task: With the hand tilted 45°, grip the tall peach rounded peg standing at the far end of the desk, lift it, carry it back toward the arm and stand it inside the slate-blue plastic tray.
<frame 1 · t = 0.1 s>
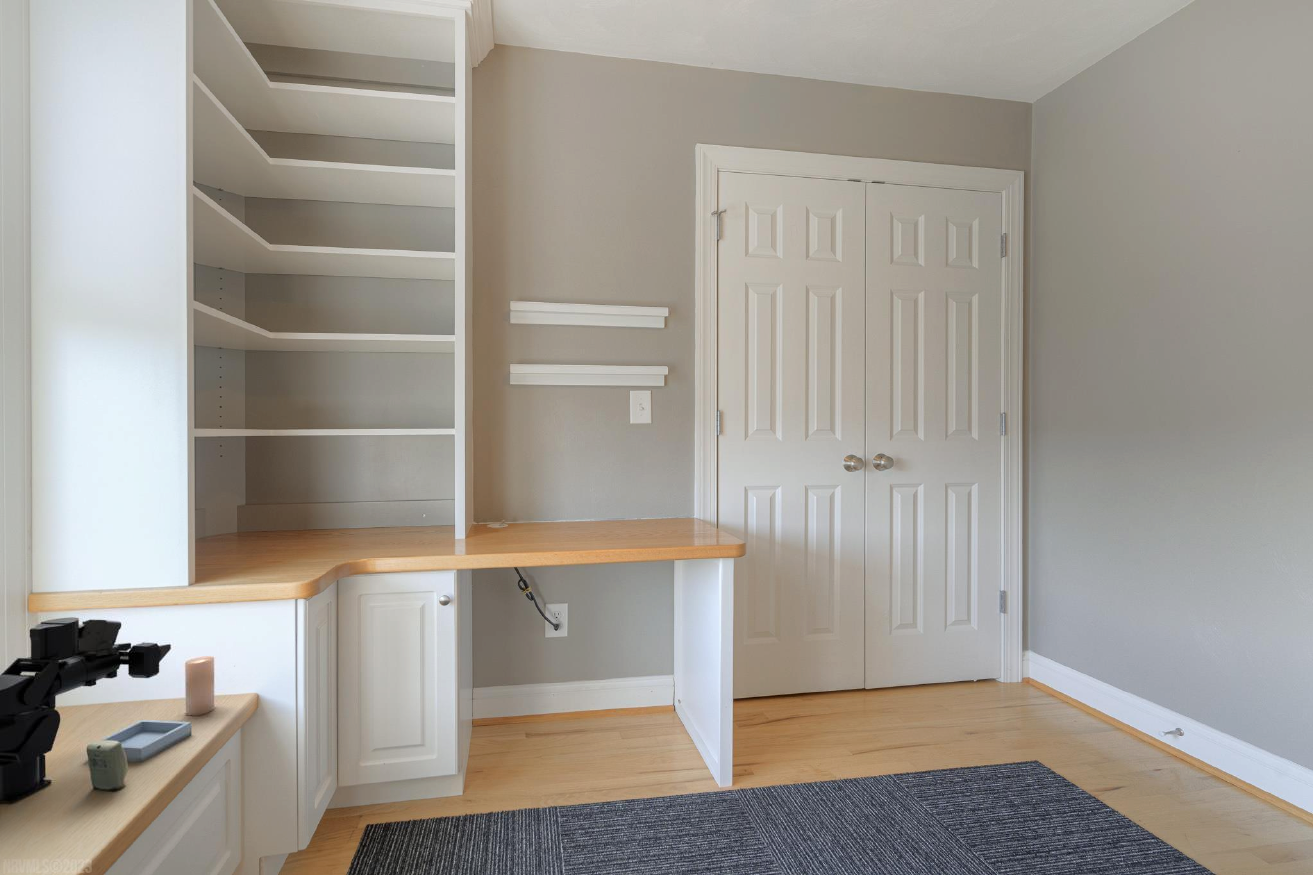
hand: (150, 645, 134), 17 cm above the cabinet, tool horizontal, fingers open, 9 cm apart
tray: (142, 746, 125), on the cabinet
peach rounded peg: (200, 710, 141), on the cabinet
power adapter: (107, 788, 110), on the cabinet
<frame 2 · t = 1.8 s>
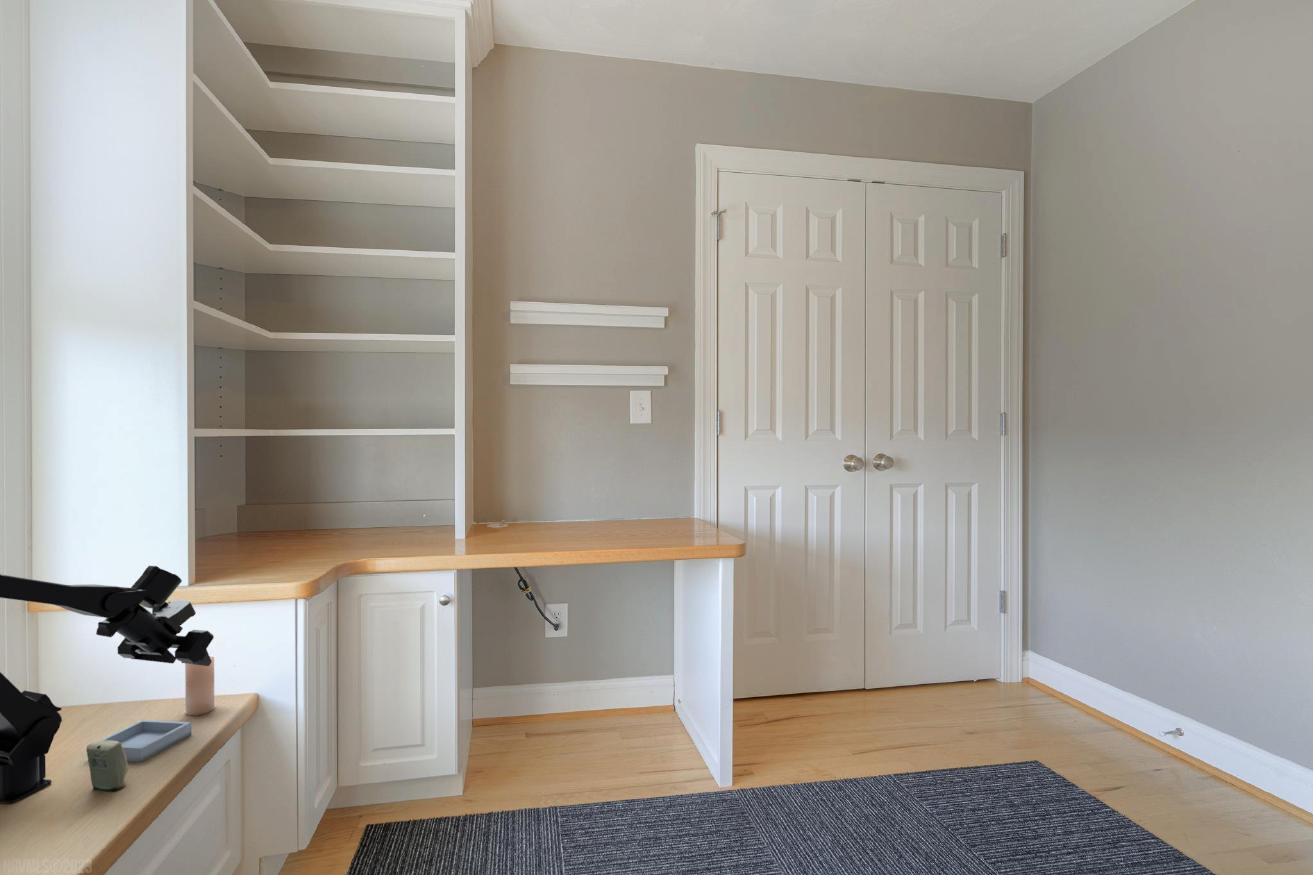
hand: (191, 662, 139), 11 cm above the cabinet, tool tilted 45°, fingers open, 9 cm apart
nothing on the cabinet moved.
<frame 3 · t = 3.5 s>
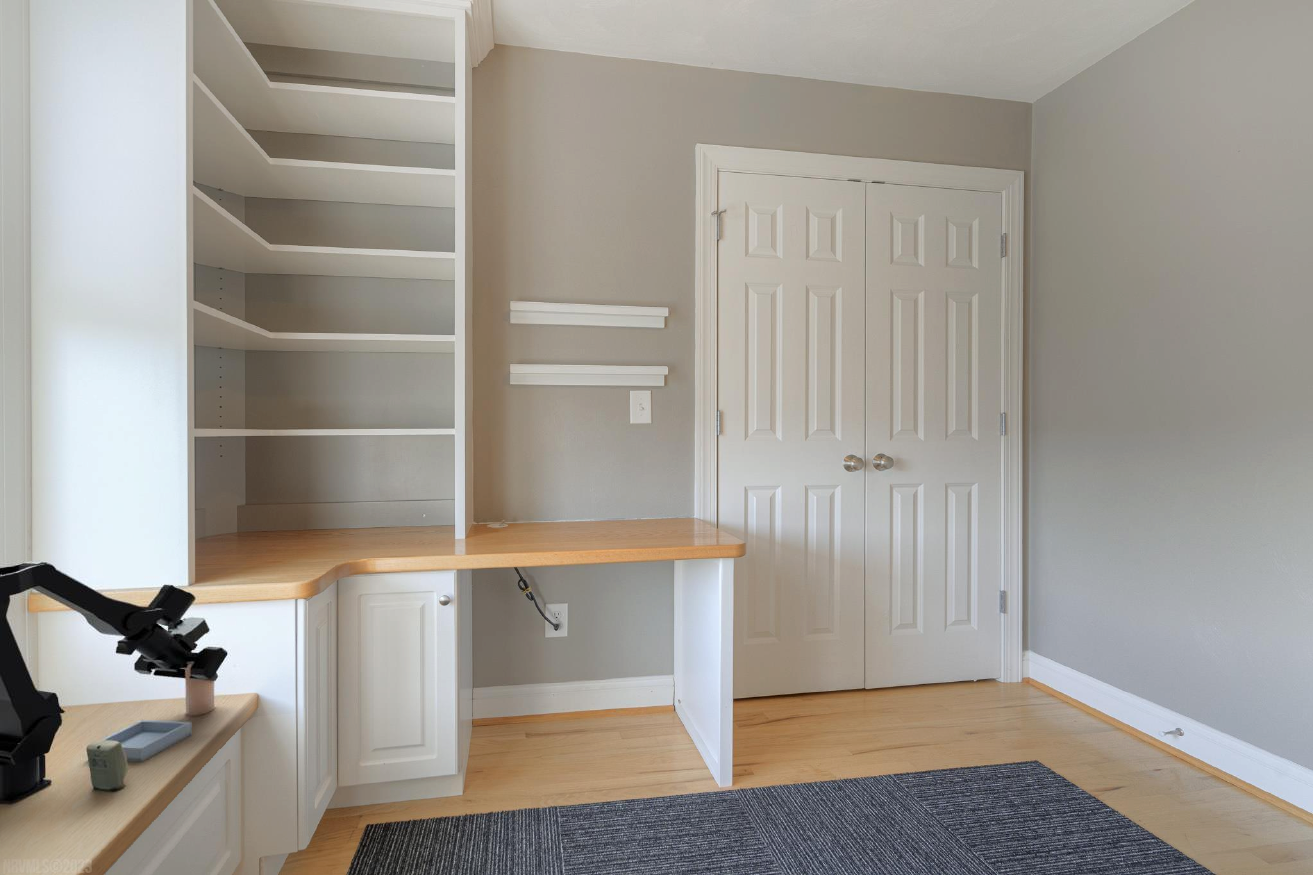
hand: (205, 677, 143), 7 cm above the cabinet, tool tilted 45°, fingers closed on peach rounded peg, 5 cm apart
peach rounded peg: (200, 710, 141), on the cabinet, touching gripper
everything else where it was.
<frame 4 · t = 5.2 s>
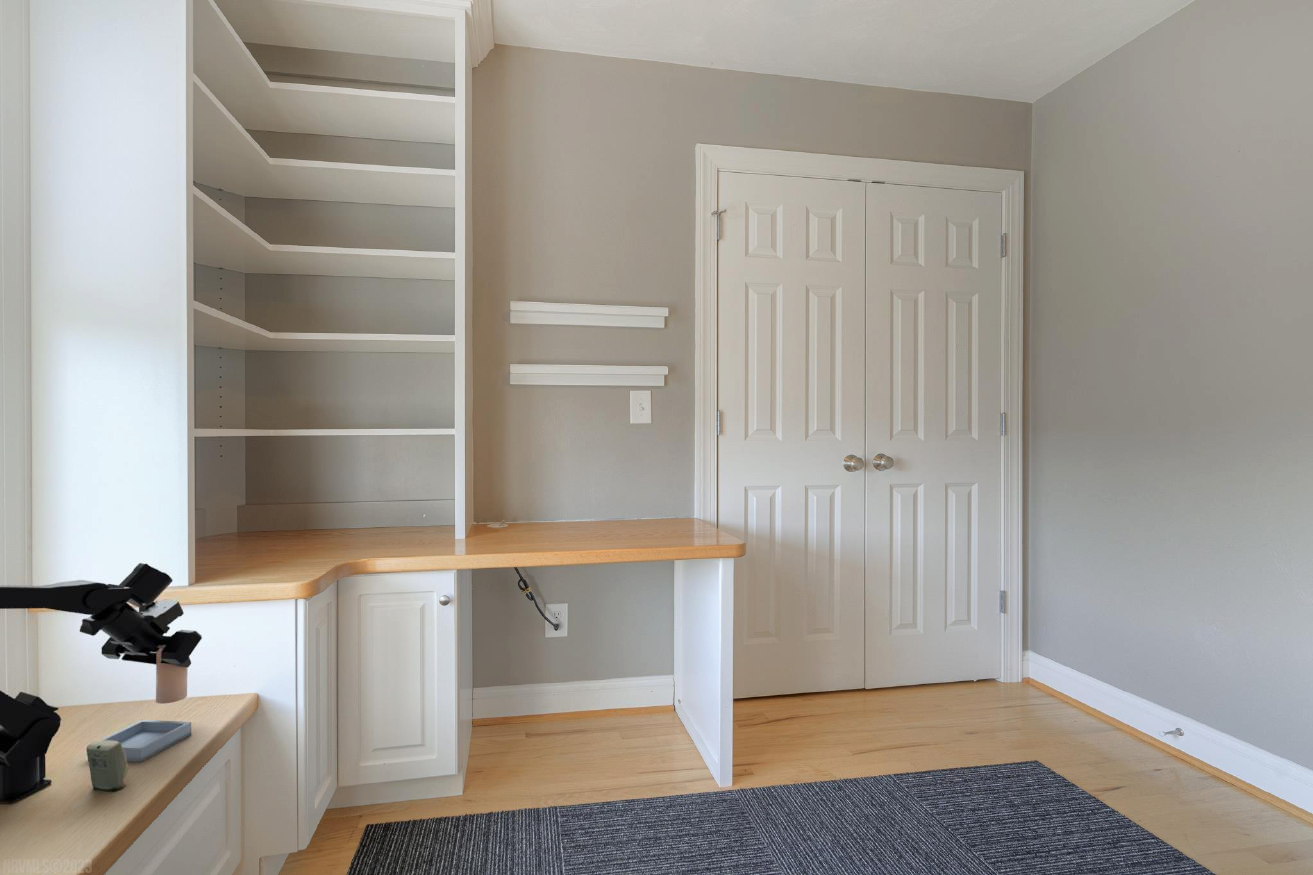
hand: (178, 664, 135), 12 cm above the cabinet, tool tilted 45°, fingers closed on peach rounded peg, 5 cm apart
peach rounded peg: (171, 698, 133), point 6 cm above the cabinet, touching gripper
everything else where it was.
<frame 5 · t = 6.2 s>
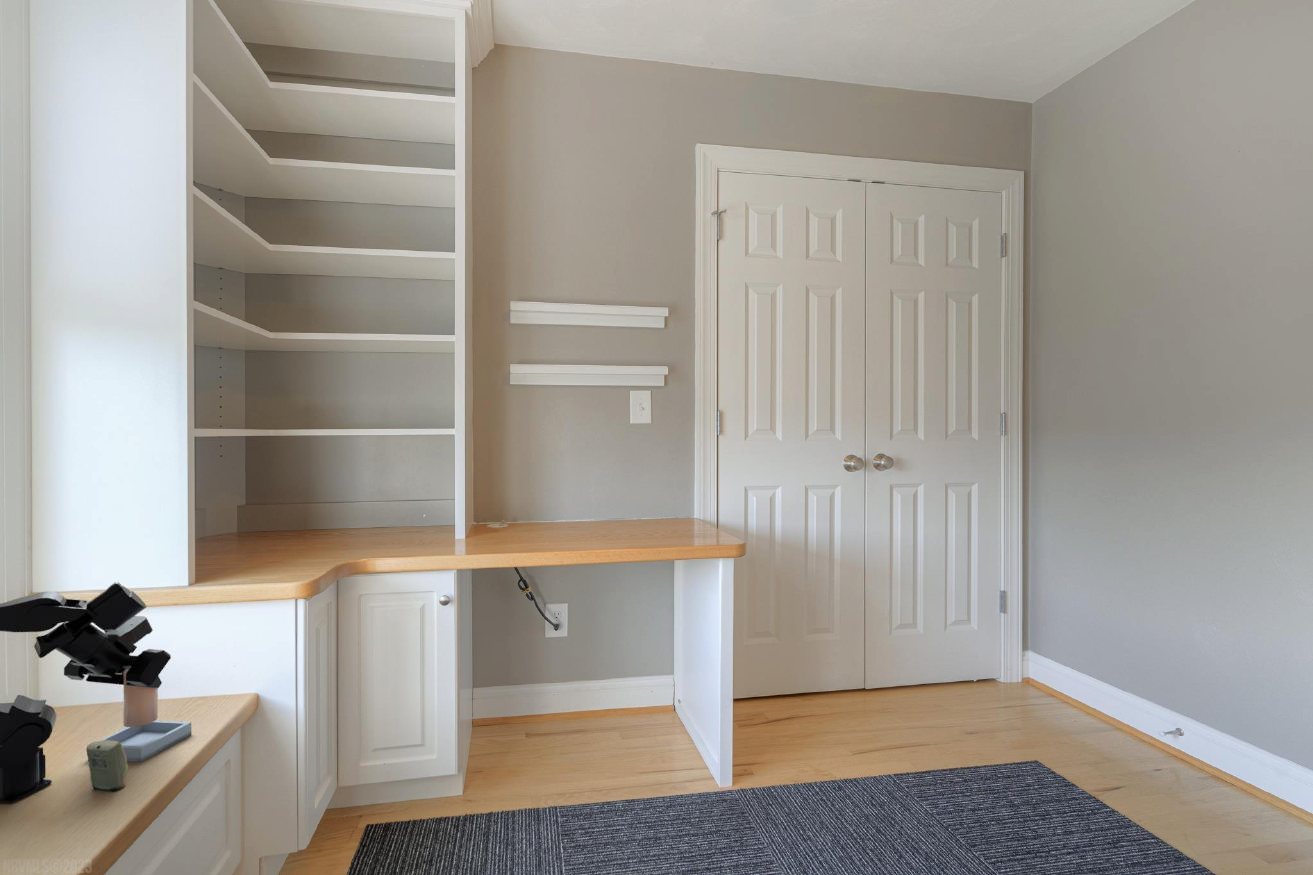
hand: (148, 684, 126), 12 cm above the cabinet, tool tilted 45°, fingers closed on peach rounded peg, 5 cm apart
peach rounded peg: (140, 721, 125), point 5 cm above the cabinet, touching gripper
everything else where it was.
when the fingers open (9 cm above the cabinet, at t = 7.0 s): peach rounded peg drops 1 cm, resting on tray.
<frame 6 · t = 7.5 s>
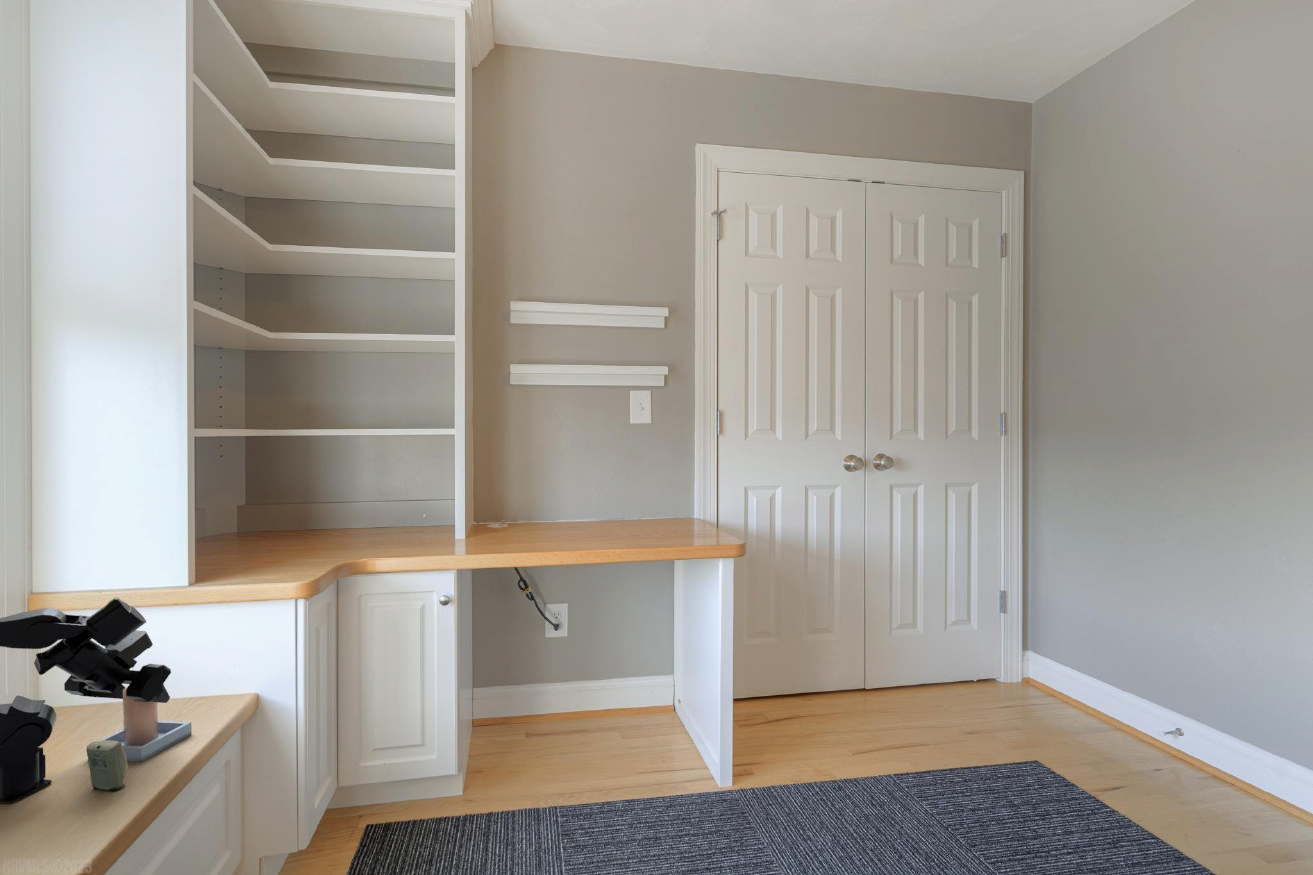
hand: (148, 698, 126), 9 cm above the cabinet, tool tilted 45°, fingers open, 9 cm apart
peach rounded peg: (141, 743, 125), point 1 cm above the cabinet, touching tray
everything else where it was.
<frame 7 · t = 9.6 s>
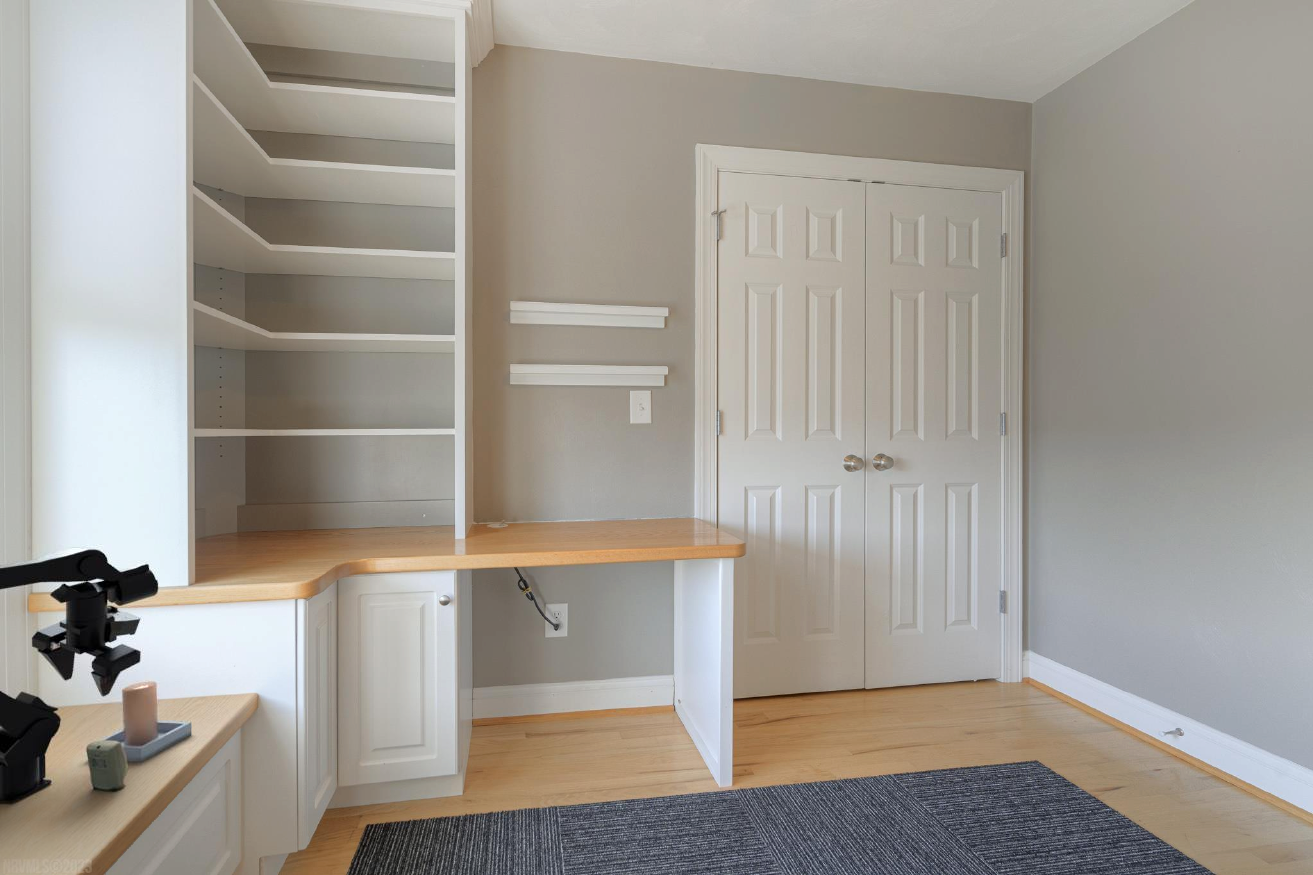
hand: (86, 687, 122), 13 cm above the cabinet, tool tilted 20°, fingers open, 9 cm apart
nothing on the cabinet moved.
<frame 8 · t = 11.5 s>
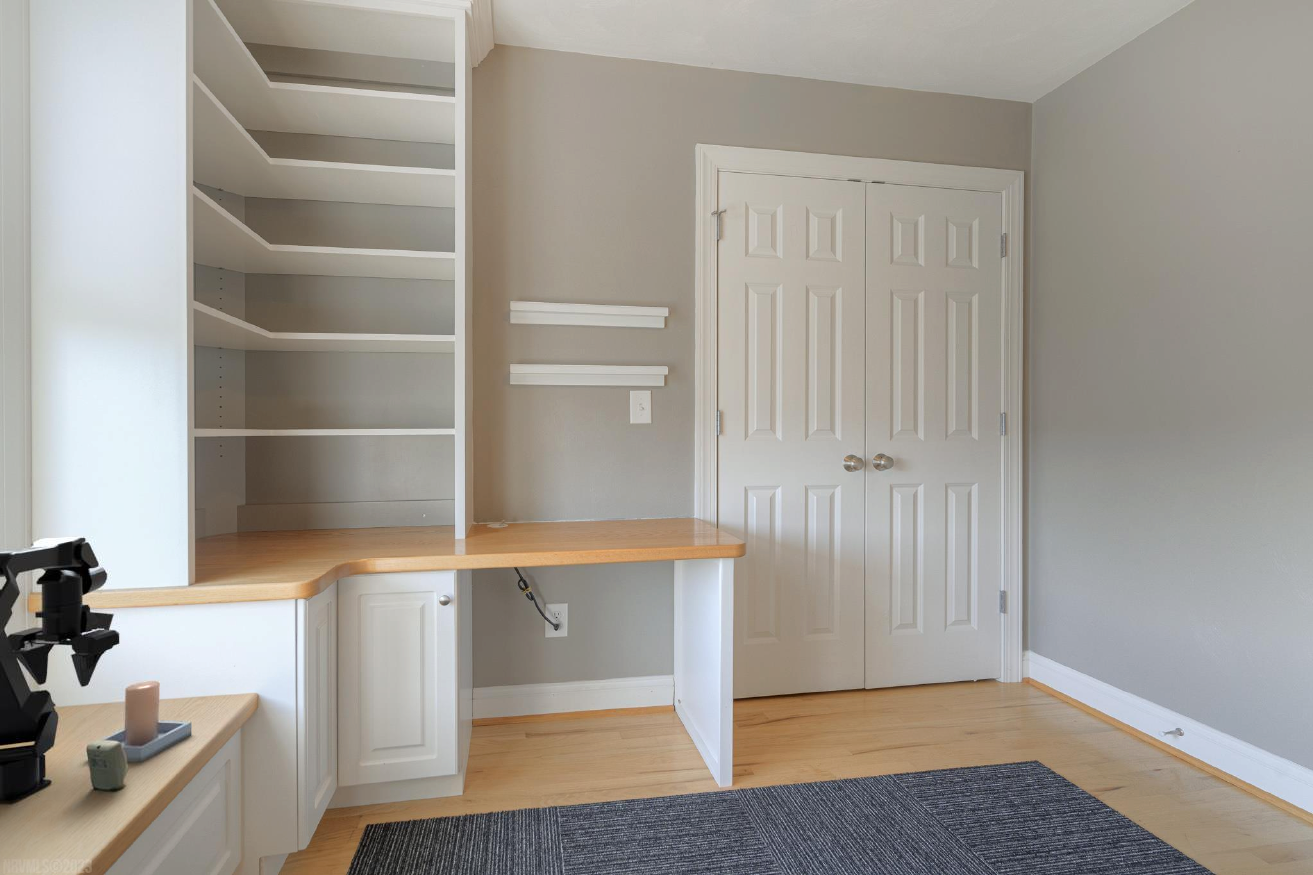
hand: (63, 684, 123), 13 cm above the cabinet, tool pointing down, fingers open, 9 cm apart
nothing on the cabinet moved.
at the end: peach rounded peg inside the target area on the tray (0.1 cm from its centre), point 0.7 cm above the tray's base; peach rounded peg tilted 1°; the gripper is holding nothing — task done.
